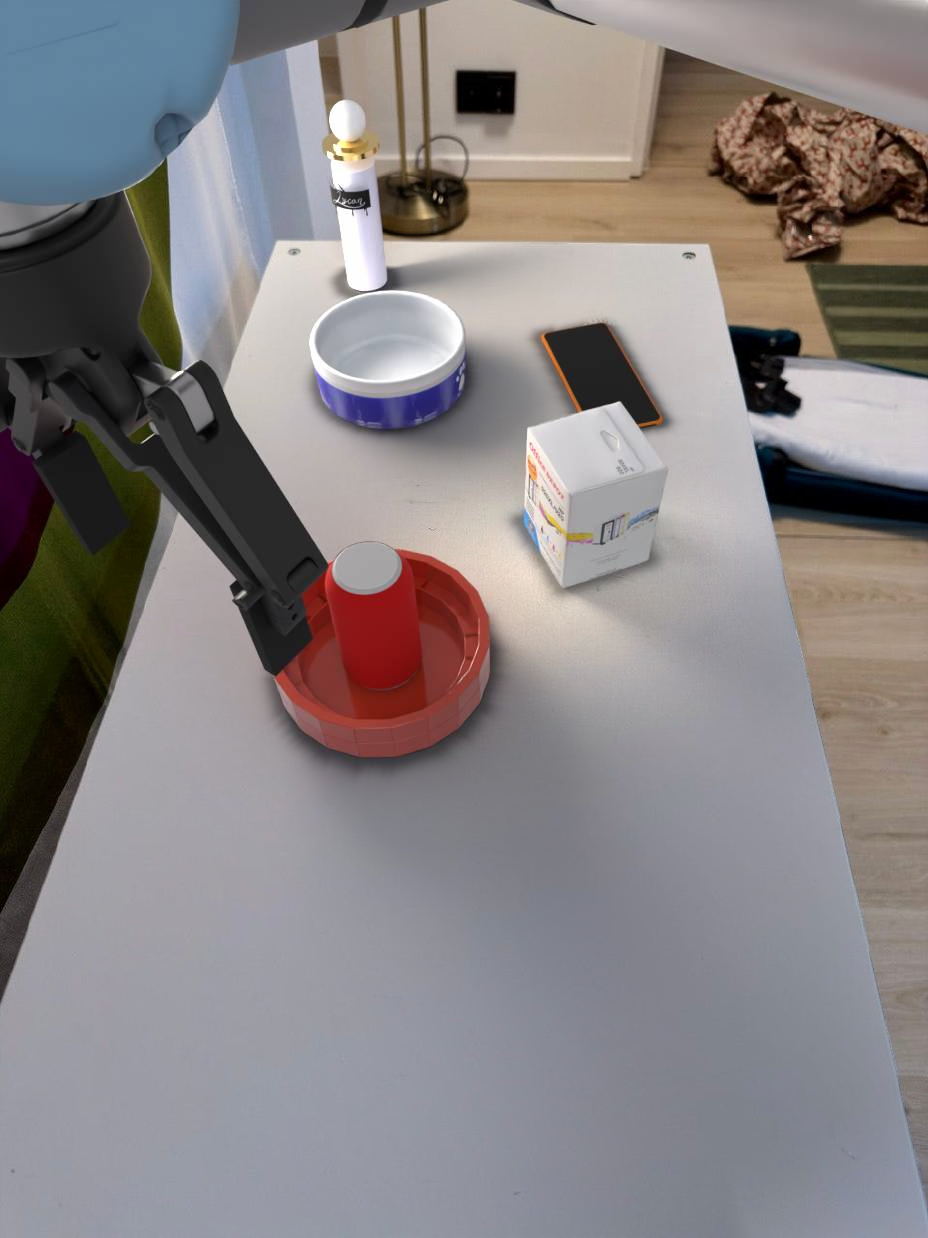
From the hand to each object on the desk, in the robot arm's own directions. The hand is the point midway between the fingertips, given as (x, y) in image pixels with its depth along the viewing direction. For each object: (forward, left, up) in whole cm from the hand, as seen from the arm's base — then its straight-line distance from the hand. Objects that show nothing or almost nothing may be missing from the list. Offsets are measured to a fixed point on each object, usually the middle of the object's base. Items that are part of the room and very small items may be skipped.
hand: (193, 592), depth 46 cm
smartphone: (+35, -40, -23) cm, 58 cm away
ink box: (+15, -30, -24) cm, 41 cm away
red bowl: (+8, -10, -23) cm, 27 cm away
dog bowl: (+42, -20, -24) cm, 52 cm away
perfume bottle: (+60, -22, -24) cm, 68 cm away
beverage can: (+8, -10, -23) cm, 26 cm away
